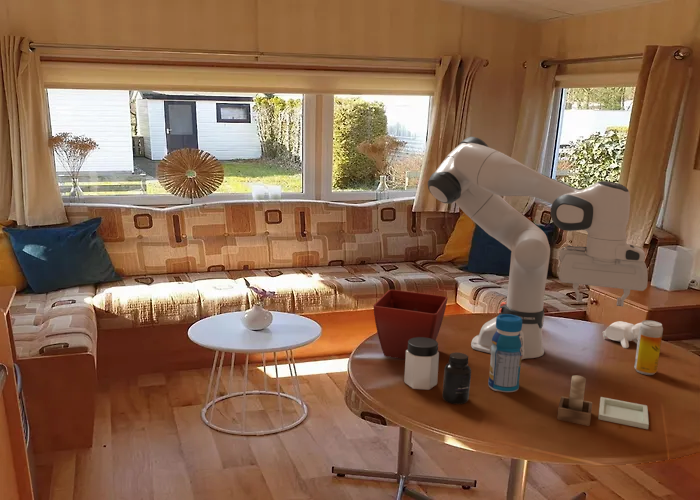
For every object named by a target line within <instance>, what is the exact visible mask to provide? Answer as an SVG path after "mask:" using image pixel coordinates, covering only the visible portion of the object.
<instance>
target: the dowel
mask: <svg viewBox="0 0 700 500" xmlns="http://www.w3.org/2000/svg"><path fill="white" fill-rule="evenodd" d="M586 380H587V379H586V377H584V376H582V375H572V376H571V382H570V391H569V397H568V398H569V406H568V409H571V410H576V411H581V412H582V407H583V400H584V399H585V390H586V389H585V388H586V382H587V381H586Z"/></svg>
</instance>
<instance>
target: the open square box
mask: <svg viewBox="0 0 700 500" xmlns="http://www.w3.org/2000/svg"><path fill="white" fill-rule="evenodd" d="M568 406H569V397H568V396H562V395H561V396H560V400H559V405H558V409H557V418H556V420H557V421H558V420H559V421H564V422H567V423H568V422H569V423H573V424H577V425H583V426H587V427H590V426H591V418H592V409H593V402H592V401H589V400H584V399H583V407H582V412H581V411H576V410H571V409H568Z"/></svg>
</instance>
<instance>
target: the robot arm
mask: <svg viewBox="0 0 700 500" xmlns="http://www.w3.org/2000/svg"><path fill="white" fill-rule="evenodd" d="M427 188H428V190H429V193H430V194H431V195H432V196H433V197H434V198H435V199H436V200H437V201H438V202H440V203H442V204H446V205H447V204H448V205H449V204H453V203H454V204H456V205H457V206H458V208H459V209H460V210H462V212H463V213H464V214H465V215H466V216H467V217H468V218H470V220H471V221H472V222H474V223H475V224H476V225H478V226H479V228H481V229H482V230H483V231H484V232H485V233H486V234H488V236H490V237H492V238H493V239H495V240H496V241H498V242H499V243H500V244H502V245H503V246H505V247H506V248H507V249H508V250H509V251H511V253H510V265H509V274H508V283H507V295H506V296H507V297H506V302H505V301H502V302H501V303H500V305H499V313H498V315H501V314H511V315H516V316H519V317H521V318H522V329H521V331H520V332H519V333H520V335H521V337H522V340H523V346H522V350H523V355H522V358H521V360H524V359H525V360H526V359H534V358H539V357H541V356H543V355H544V354H545V351H544V350H545V349H544V346H543V345H544V344H543V326H544V321H545V308H544V302H545V291H546V284H547V277H548V271H549V266H550V265H549V264H550V257H551V256H550V255H551V246H550V244H549V243H550V242H549V240H548V236H547V235H546V233H545V231H543V230H542V228H540V227H539V226H537V225H536V224H535V223H534V222H532V221H531V219H528V217H526V216H525V214H522V213H521V212H520V211H518V210H517V209H515V207H514V206H512V205H511V204H510V203H508V202H507V201H506V200H505V199H504V198H503V197H531V198H536V199H539V200H541V201H543V202H547V203H548V204H550V205H551V207H550V217H551V221H552V222H553V224H554V225H555V226H556V227H557V228H558V229H560V230H562V231H567V232H576V231H586V232H587V237H586V244H585V245H586V246H580V245H579V246H573V245H567V246H565V247H562V248H561V249H560V251H559V256H558V257H559V261H560V262H561V264H560V269H559V274H558V279H559V281H560V282H561V283H563V284H564V283H567V284H572V290H573V291H574V293H575V295H576V296H575V301H576V302H583V299H584V298H583V297H584V294H583V293H582V292H580V291H579V287H580V285H585V286H594V287H603V288H613V289H620V290H623V294H622V296H621V297H617V298H616V307H624V306H625V305H624V303H625V300H626V299H627V298H628V297H629V295H630V294H631V290H633V291H638V292H639V291H640V292H644V291H645V290H646V289H647V288H648V282H649V281H648V279H649V278H648V276H649V275H648V268H647V265H646V262H645V259H646V252H645V251H644V250H643V249H642V248H640V247H638V246H636V245H633V244H630V243H628V242H627V226H628V223H629V221H630V211H631V195H630V191H629V189H628V188H627V187H626V186H625V185H624V184H620V183H618V182H615V181H608V180H598V181H597V182H596V183H594V184H592V185H591V186H588V187H586V188H577V187H573V186H572V185H568V184H566V183H564V182H562V181H559V180H557V179H555V178H552V177H551V176H550V177H549V176H547V175H545V174H543V173H540V172H539V171H537V170H535V169H533V168H530V167H529V166H527V165H526V164H523V163H522V162H520V161H519V160H517V159H515V158H513V157H511V156H509V155H508V154H505V153H503V152H502V151H499V150H497V149H494V148H492V147H489V145H488V144H487V143H486V142H485V141H483V140H482V139H481V138H479V137H476V136H468V137H465V139H463V140H462V141H460V142H459V143H458V145H457V146H456V147H455V148H454V149H452V151H450V152H449V153H448V154H447V155H446V157H445V158H444V160H443V161H442V162H441V164H439V166H438V167H437V169H436V170H435V172H433V173H432V174H431V175H430V177H429V179H428V181H427ZM496 318H497V316H496V317H492V319H489V320H488V321H486V322H485V323H484V324H483V325H482V327H480V330H479V334H477V335H476V336H474V337H473V338H472V340H471V343H470V344H471V345H470V346H471V348H472V349H473V350H476V351H479V352H484V353H487V354H491V352H490V349H491V346H492V345H493V343H492V338H493V335H494V334H495V332H496V331H497V329H496Z"/></svg>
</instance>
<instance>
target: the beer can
mask: <svg viewBox="0 0 700 500" xmlns="http://www.w3.org/2000/svg"><path fill="white" fill-rule="evenodd" d="M640 323H641V324H640V329H639V336H638V343H636V351H635V359H634V360H635V361H634V369H635V371H636V372H637V373H639V374H642V375H645V376H646V375H647V376H653V375H655V373H657V372H658V368H659V367H658V366H659V360H660V353H661V345H662V339H663V331H664V328H663V324H662V323H661V322H658V321H655V320H648V319H645V320H642V321H641V322H640Z"/></svg>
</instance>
